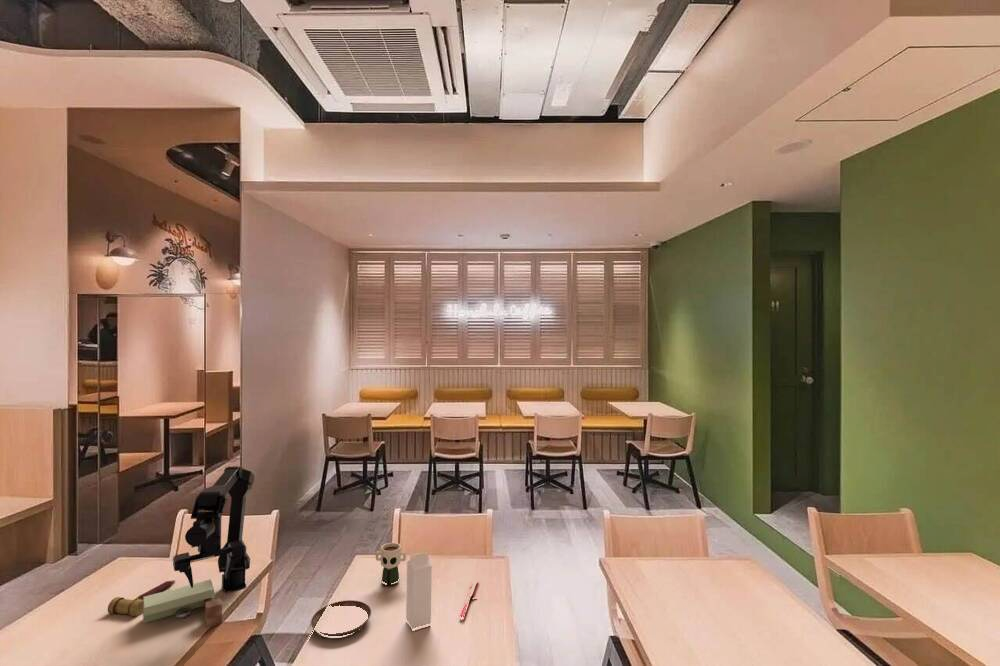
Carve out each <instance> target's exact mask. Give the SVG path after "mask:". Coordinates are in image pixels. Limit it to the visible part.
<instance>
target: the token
mask: <svg viewBox="0 0 1000 666" xmlns="http://www.w3.org/2000/svg"><path fill="white" fill-rule="evenodd" d="M191 610H192V609H190V608H182V609H180V610H178V611H177V612H176V613H175V614H174V615H175V619H176V620H177V621H178V620H184V619H187V618H188V617H190V616H191V615H192V613H191Z"/></svg>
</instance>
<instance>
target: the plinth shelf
mask: <svg viewBox="0 0 1000 666" xmlns="http://www.w3.org/2000/svg"><path fill="white" fill-rule="evenodd" d="M211 597H212V598H214V597H215V588H214V585H213V582H212V579H211V578H210V579H206V580H203V581H200V582H194V583H193V588H191V586H190V584H188V585H183V586H180V587H177V588H173V589H167V590H165V591H163V592H160V593H156V594H153V595H149V596H145V597H143V613H142V621H143V624H145V623H149V622H152V621H157V620H159V619H163V618H167V617H169V616H174V615H175V613H176V612H177V611H178V610H180V609H182V608H190V609H191V610H194V609H197V608H201V607H204V604H205V599H208V598H211Z"/></svg>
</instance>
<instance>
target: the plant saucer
mask: <svg viewBox="0 0 1000 666" xmlns="http://www.w3.org/2000/svg"><path fill="white" fill-rule="evenodd" d="M328 605H329V606H330V605H331V606H332V607H334V606H339V605H340V606H356V607H360V608H362V609H363V610H365V611H366V612H367V614H368V619H367V620H366V621H365V622H364V623H363V624H362V625H360V626H359V627H357V628H355V629H353V630H350V631H347V632H343V633H336V634H328V633H322V632H320V633H322V634H324V635H328V636H343V635H347V634H351V633H353V632H356V631H358V630H359V629H361V628H362V627H363V626H364V627H365V625H366V624H367V623H368V621H369V620H370V618H371V616H372V609H371V606H369V604H367V603H366V602H363V601H360V600H351V599H350V600H347V599H346V600H341V601H336V602H332V603H329V604H327V605H325V606H323V607H322V608H320V609H318V610H317V611H316V612H315V613H314V614H313V615H312V617H311V620H310V625H311V628H312V629H313V630H314V628H315V626H316V624H317V622H318V621H319V619H320V617H321V616H322V614H323V612H324V611H325V609H326V607H327V606H328ZM364 627H363V628H364ZM363 628H362V629H363ZM362 629H361V630H362ZM359 631H360V630H359ZM359 631H358V632H359Z"/></svg>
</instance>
